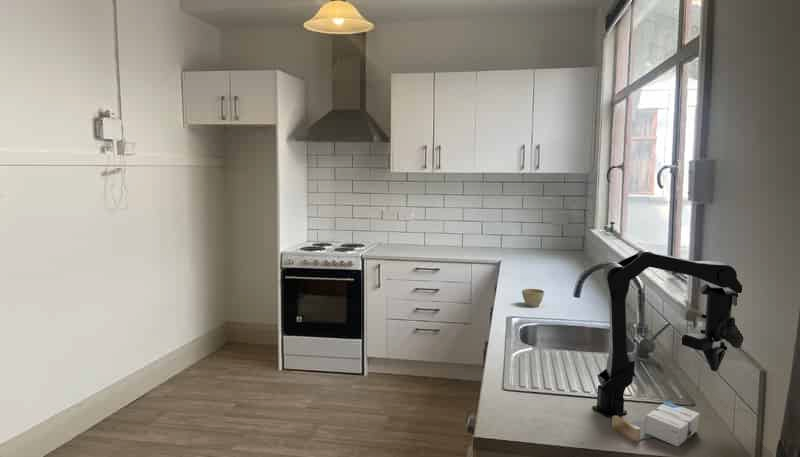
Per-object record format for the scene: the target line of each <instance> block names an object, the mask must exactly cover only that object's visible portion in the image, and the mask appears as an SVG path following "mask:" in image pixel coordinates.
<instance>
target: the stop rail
mask: <svg viewBox="0 0 800 457" xmlns="http://www.w3.org/2000/svg"><path fill="white" fill-rule="evenodd" d="M611 418H612V422H611V428H612V429H614V430H615V431H617V432H619V433H621V434H622V435H624V436H625V437H628V438H630V439H631V440H633V441H635V442H639V441H641V440H640V431H641V428H639V427H637V426H635V425H633V424H631V423H630V421H628V420H625V419H624V418H622V417H620V416H619V415H616V416H612V417H611Z"/></svg>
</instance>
